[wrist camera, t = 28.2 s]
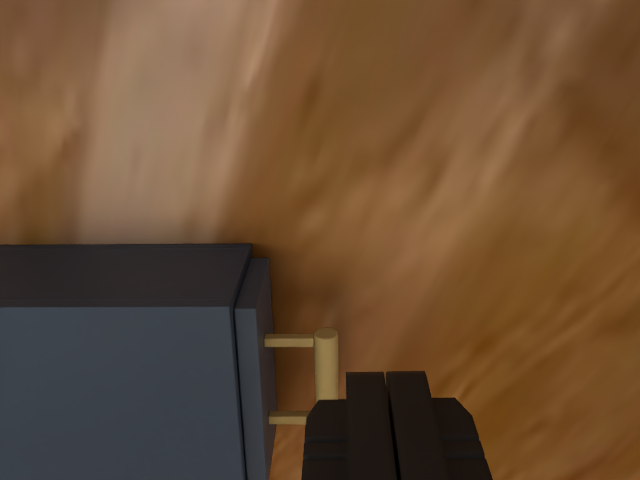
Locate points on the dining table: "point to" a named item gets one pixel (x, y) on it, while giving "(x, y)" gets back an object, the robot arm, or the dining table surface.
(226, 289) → the cabinet
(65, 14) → the dining table surface
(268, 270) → the drawer
